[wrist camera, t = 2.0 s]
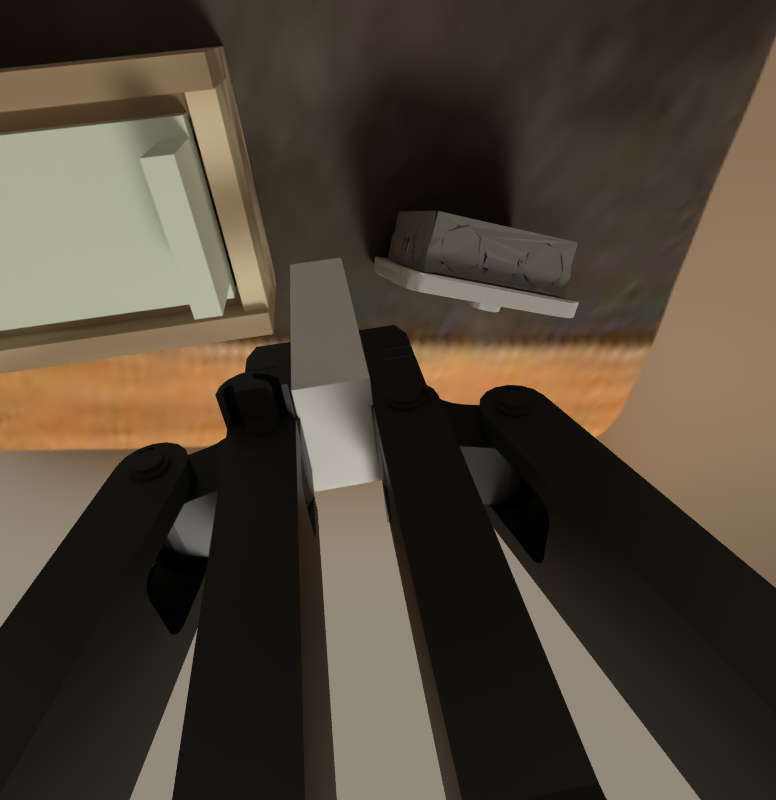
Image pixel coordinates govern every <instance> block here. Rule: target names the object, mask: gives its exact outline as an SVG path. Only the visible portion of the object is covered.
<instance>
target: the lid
mask: <svg viewBox="0 0 776 800" xmlns="http://www.w3.org/2000/svg"><path fill="white" fill-rule="evenodd" d="M235 293H236V288H235V284H234V280H233V277H232V273H231V270H230V266H229V262H228V259H227V255H226V252H225V248H224V244H223V241H222V237H221V234H220V230H219V226H218V223H217V219H216V216H215V212H214V208H213V205H212V201H211V197H210V194H209V190H208V187H207V183H206V179H205V176H204V172H203V169H202V165H201V161H200V158H199V154H198V151H197V147H196V143H195V140H194V136H193V133H192V129H191V125H190V122H189V118H188V115H187V112H181V113H172V114H163V115H154V116H145V117H136V118H127V119H118V120H109V121H100V122H91V123H82V124H73V125H64V126H55V127H46V128H37V129H28V130H18V131H9V132H0V331H2V330H10V329H17V328H24V327H31V326H38V325H45V324H52V323H60V322H67V321H74V320H81V319H88V318H95V317H103V316H110V315H117V314H124V313H131V312H138V311H146V310H153V309H160V308H167V307H174V306H181V305H190V308H191V310H192V313H193V316H194V319H202V318H209V317H216V316H223V313H224V308H225V304H226V299H232V298H235Z"/></svg>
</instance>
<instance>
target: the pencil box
mask: <svg viewBox="0 0 776 800" xmlns="http://www.w3.org/2000/svg"><path fill="white" fill-rule="evenodd" d="M181 112H187V115H188V118H189V122H190V125H191V129H192V133H193V136H194V140H195V143H196V147H197V151H198V154H199V158H200V161H201V165H202V169H203V172H204V176H205V179H206V183H207V187H208V190H209V194H210V197H211V201H212V205H213V208H214V212H215V216H216V219H217V223H218V226H219V230H220V234H221V237H222V241H223V244H224V248H225V252H226V255H227V259H228V262H229V266H230V270H231V273H232V277H233V280H234V284H235V288H236V293H235V298H232V299H226V304H225V308H224V313H223V316H216V317H209V318H202V319H194V316H193V313H192V310H191V308H190V305H181V306H174V307H167V308H160V309H153V310H146V311H138V312H131V313H124V314H117V315H110V316H103V317H95V318H88V319H81V320H74V321H67V322H60V323H52V324H45V325H38V326H31V327H24V328H17V329H10V330H2V331H0V374H2V373H8V372H15V371H22V370H29V369H36V368H43V367H50V366H56V365H63V364H70V363H77V362H84V361H91V360H98V359H104V358H111V357H118V356H125V355H132V354H139V353H145V352H152V351H159V350H166V349H173V348H180V347H187V346H193V345H200V344H207V343H214V342H221V341H228V340H235V339H241V338H248V337H255V336H262V335H269V334H273V329H274V308H275V287H276V278H275V274H274V269H273V265H272V260H271V256H270V252H269V247H268V243H267V238H266V234H265V229H264V225H263V220H262V216H261V211H260V207H259V203H258V198H257V194H256V189H255V185H254V180H253V176H252V171H251V167H250V162H249V158H248V154H247V149H246V145H245V140H244V136H243V131H242V127H241V122H240V118H239V113H238V109H237V105H236V100H235V96H234V91H233V87H232V82H231V78H230V73H229V69H228V64H227V60H226V56H225V51H224V47H223V46H218V47H208V48H198V49H188V50H178V51H168V52H159V53H149V54H139V55H129V56H119V57H109V58H99V59H89V60H79V61H69V62H60V63H50V64H40V65H30V66H20V67H10V68H0V132H9V131H18V130H28V129H37V128H46V127H55V126H64V125H73V124H82V123H91V122H100V121H109V120H118V119H127V118H136V117H145V116H154V115H163V114H172V113H181Z"/></svg>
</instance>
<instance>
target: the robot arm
mask: <svg viewBox="0 0 776 800" xmlns="http://www.w3.org/2000/svg"><path fill="white" fill-rule="evenodd" d="M290 310H291V342H287V343H280V344H274V345H267V346H260V347H256V348H255V349H254V351H253V352H252V353H251V354H250V355H249V357H248V358H247V360H246V368H245V373H241V374H239V375H237V376H235V377H233V378H231V379H228V380H227V381H226V382H225V383H224V384H222V385H221V386H220V387H219V389H218V391H217V393H216V398H217V401H218V404H219V407H220V410H221V413H222V415H223V418H224V421H225V424H226V427H227V435H226V438H225V439H223V440H221V441H220V442H218V443H217V444H215V445H212V446H210V447H208V448H206V449H203V450H200V451H198V452H195V453H192V454H190V455H188V454H187V452H186V449H185V448H183V447H181V446H180V445H178V444H174V443H167V442H165V443H158V444H152V445H149V446H146V447H143V448H141V449H138V450H137V451H135V452H133V453H132V454H130V455H129V456H127V457H125V458H124V459H123V460H122V461H121V462H120V463H119V465H118V466H117V467H116V468H115V469H114V471H113V472H112V473H111V475H110V476H109V477H108V479H107V480H106V482H105V483H104V484H103V486H102V487H101V489H100V490H99V491H98V493H97V494H96V496H95V497H94V498H93V500H92V501H91V503H90V504H89V505H88V507H87V508H86V509H85V511H84V512H83V514H82V515H81V516H80V518H79V519H78V521H77V522H76V523H75V525H74V526H73V527H72V529H71V530H70V532H69V533H68V534H67V536H66V537H65V539H64V540H63V541H62V543H61V544H60V545H59V547H58V548H57V550H56V551H55V553H54V554H53V555H52V557H51V558H50V559H49V561H48V562H47V563H46V565H45V566H44V568H43V569H42V570H41V572H40V573H39V575H38V576H37V578H36V579H35V580H34V582H33V583H32V584H31V586H30V587H29V589H28V590H27V591H26V593H25V594H24V595H23V597H22V598H21V600H20V601H19V602H18V604H17V605H16V606H15V608H14V609H13V611H12V612H11V613H10V615H9V616H8V618H7V619H6V620H5V622H4V623H3V625H2V626H1V627H0V800H129V799H130V797H131V794H132V792H133V789H134V786H135V784H136V782H137V779H138V776H139V774H140V772H141V769H142V766H143V764H144V762H145V759H146V757H147V754H148V751H149V749H150V746H151V744H152V741H153V739H154V736H155V734H156V731H157V729H158V726H159V724H160V721H161V719H162V716H163V714H164V711H165V709H166V706H167V703H168V701H169V698H170V696H171V693H172V691H173V688H174V686H175V683H176V681H177V678H178V676H179V673H180V671H181V668H182V665H183V663H184V661H185V658H186V655H187V653H188V650H189V648H190V645H191V643H192V640H193V638H194V635H195V633H196V630H197V628H198V630H197V637H196V643H195V650H194V657H193V664H192V670H191V677H190V683H189V691H188V697H187V703H186V710H185V717H184V724H183V730H182V737H181V744H180V751H179V757H178V764H177V770H176V777H175V784H174V791H173V797H172V800H337V797H336V782H335V767H334V752H333V737H332V722H331V706H330V691H329V676H328V662H327V646H326V631H325V616H324V603H323V602H324V601H323V585H322V571H321V555H320V540H319V525H318V512H317V511H318V510H317V506H316V502H315V497H314V492H313V485H314V489H315V491H322V490H328V489H333V488H339V487H344V486H351V485H357V484H362V483H368V482H374V481H379V480H382V481H383V490H384V497H385V506H386V514H387V521H388V522H389V523H390V527H391V532H392V537H393V542H394V547H395V552H396V557H397V562H398V566H399V571H400V576H401V581H402V586H403V591H404V595H405V601H406V605H407V610H408V615H409V620H410V625H411V630H412V635H413V640H414V645H415V649H416V654H417V659H418V663H419V669H420V674H421V679H422V684H423V688H424V693H425V698H426V703H427V707H428V713H429V717H430V723H431V727H432V732H433V737H434V742H435V747H436V751H437V757H438V762H439V766H440V771H441V776H442V781H443V786H444V791H445V796H446V800H607V799H606V797H605V795H604V793H603V791H602V789H601V787H600V785H599V783H598V780H597V778H596V776H595V773H594V770H593V768H592V766H591V763H590V761H589V758H588V756H587V754H586V751H585V749H584V746H583V744H582V741H581V739H580V737H579V734H578V732H577V729H576V727H575V725H574V722H573V720H572V717H571V715H570V712H569V710H568V708H567V705H566V703H565V700H564V698H563V696H562V693H561V691H560V688H559V686H558V683H557V681H556V679H555V676H554V674H553V671H552V669H551V666H550V664H549V662H548V660H547V657H546V654H545V652H544V650H543V647H542V645H541V642H540V640H539V637H538V635H537V633H536V630H535V628H534V626H533V623H532V621H531V618H530V616H529V613H528V611H527V608H526V606H525V604H524V601H523V599H522V596H521V594H520V591H519V589H518V587H517V584H516V582H515V579H514V577H513V575H512V572H511V570H510V567H509V565H508V562H507V560H506V558H505V555H504V553H503V550H502V548H501V546H500V543H499V541H498V538H497V536H496V533H495V531H494V529H495V530H496V531H497V533H498V534H499V535H500V537H501V538H502V539H503V540H504V542H505V543H506V545H507V546H508V547H509V549H510V550H511V551H512V553H513V554H514V555H515V556H516V558H517V559H518V560H519V562H520V563H521V564H522V566H523V567H524V568H525V570H526V571H527V572H528V574H529V575H530V576H531V577H532V579H533V580H534V581H535V583H536V584H537V585H538V587H539V588H540V589H541V591H542V592H543V593H544V594H545V596H546V597H547V598H548V600H549V601H550V602H551V604H552V605H553V606H554V608H555V609H556V610H557V612H558V613H559V614H560V616H561V617H562V618H563V619H564V621H565V622H566V623H567V625H568V626H569V627H570V629H571V630H572V631H573V632H574V634H575V635H576V637H577V638H578V639H579V640H580V642H581V643H582V644H583V646H584V647H585V648H586V650H587V651H588V652H589V654H590V655H591V656H592V657H593V659H594V660H595V661H596V663H597V664H598V665H599V667H600V668H601V669H602V671H603V672H604V673H605V675H606V676H607V677H608V678H609V680H610V681H611V682H612V684H613V685H614V686H615V688H616V689H617V690H618V692H619V693H620V694H621V696H622V697H623V698H624V699H625V701H626V702H627V703H628V705H629V706H630V707H631V709H632V710H633V711H634V712H635V714H636V715H637V717H638V718H639V719H640V720H641V722H642V723H643V724H644V726H645V727H646V728H647V730H648V731H649V732H650V734H651V735H652V736H653V737H654V739H655V740H656V741H657V743H658V744H659V745H660V747H661V748H662V749H663V751H664V752H665V753H666V755H667V756H668V757H669V758H670V760H671V761H672V762H673V764H674V765H675V766H676V767H677V769H678V770H679V772H680V773H681V774H682V776H683V777H684V778H685V780H686V781H687V782H688V783H689V785H690V786H691V787H692V789H693V790H694V791H695V793H696V794H697V795H698V797H699V798H700V799H701V800H776V588H775V587H774V586H773V585H771V584H770V583H769V582H768V581H767V580H765V579H764V578H763V577H762V576H761V575H759V574H758V573H757V572H756V571H754V570H753V569H752V568H751V567H750V566H748V565H747V564H746V563H745V562H744V561H742V560H741V559H740V558H739V557H737V556H736V555H735V554H734V553H733V552H732V551H730V550H729V549H728V548H727V547H726V546H724V545H723V544H722V543H721V542H720V541H718V540H717V539H716V538H715V537H714V536H712V535H711V534H710V533H709V532H708V531H706V530H705V529H704V528H703V527H702V526H700V525H699V524H698V523H697V522H696V521H694V520H693V519H692V518H691V517H689V516H688V515H687V514H686V513H684V512H683V511H682V510H681V509H680V508H679V507H678V506H676V505H675V504H674V503H673V502H672V501H670V500H669V499H668V498H666V497H665V496H664V495H663V494H662V493H661V492H660V491H658V490H657V489H656V488H655V487H653V486H652V485H651V484H650V483H649V482H647V481H646V480H645V479H644V478H642V477H641V476H640V475H639V474H638V473H637V472H635V471H634V470H633V469H632V468H631V467H629V466H628V465H627V464H626V463H625V462H623V461H622V460H621V459H620V458H618V457H617V456H616V455H615V454H614V453H613V452H611V451H610V450H609V449H608V448H607V447H605V446H604V445H603V444H602V443H600V442H599V441H598V440H597V439H596V438H595V437H593V436H592V435H591V434H590V433H589V432H587V431H586V430H585V429H584V428H583V427H581V426H580V425H579V424H578V423H577V422H575V421H574V420H573V419H572V418H571V417H569V416H568V415H567V414H566V413H565V412H563V411H562V410H561V409H560V408H559V407H557V406H556V405H555V404H554V403H552V402H551V401H550V400H549V399H548V398H546V397H545V396H544V395H543V394H541V393H539V392H537V391H536V390H534V389H531V388H527V387H524V386H516V385H506V386H500V387H495V388H493V389H491V390H489V391H487V392H486V393H485V394H484V395H483V396H482V398H481V399H480V405H464V404H455V403H450V402H447V401H443V400H441V399H440V398H439V396H438V394H437V393H436V392H435V390H434V389H433V388H431V387H429V386H427V385H426V382H425V380H424V377H423V375H422V372H421V370H420V367H419V365H418V362H417V360H416V357H415V355H414V352H413V350H412V347H411V345H410V342H409V340H408V337H407V335H406V333H405V332H403V331H402V330H401V329H399V328H398V327H396V326H395V325H392V326H385V327H378V328H371V329H365V330H358V327H357V323H356V319H355V314H354V310H353V306H352V302H351V298H350V293H349V289H348V285H347V281H346V277H345V273H344V268H343V264H342V260H341V258H336V259H329V260H321V261H314V262H307V263H299V264H292V265H290ZM493 528H494V529H493Z"/></svg>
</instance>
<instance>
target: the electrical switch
mask: <svg viewBox="0 0 776 800" xmlns="http://www.w3.org/2000/svg"><path fill="white" fill-rule="evenodd" d="M435 216H436V211H406V212H398V216H397V221H396V227H395V232H394V233H392V239H391V244H390V250H389V254H388V258H382V257H375V263H374V271H375V272H376V273H378V274H380V275H381V276H383V277H385V278H387V279H389V280H391V281H393V282H394V283H396V284H398V285H401V286H403V287H405V288H408V289H411V290H415V291H419V292H423V293H429V294H434V295H440V296H446V297H451V298H457V299H462V300H467V301H468V302H469V303H470V304H471V305H472V306H473V307H475V308H477V309H481V310H485V311H490V312H499V310H500V307H507V308H512V309H518V310H524V311H529V312H535V313H541V314H546V315H552V316H557V317H565V318H573V317H574V315H575V312H576V309H577V306H578V303H579V302H575V301H571V300H565V296H566V288H567V286H568V283H569V280H570V274H571V265H572V261H573V258H574V254H575V251H576V248H577V244H578V243H577V242H573V241H568V240H564V239H559V238H555V237H550V236H546V235H542V234H537V233H533V232H528V231H524V230H520V229H515V228H511V227H506V226H502V225H498V224H493V223H489V222H484V221H480V220H476V219H471V218H467V217H462V216H458V215H454V214H449V213H445V212H440V211H438V212H437V217H436V221H435ZM457 225H458V226H457ZM433 229H434V230H433Z"/></svg>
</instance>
